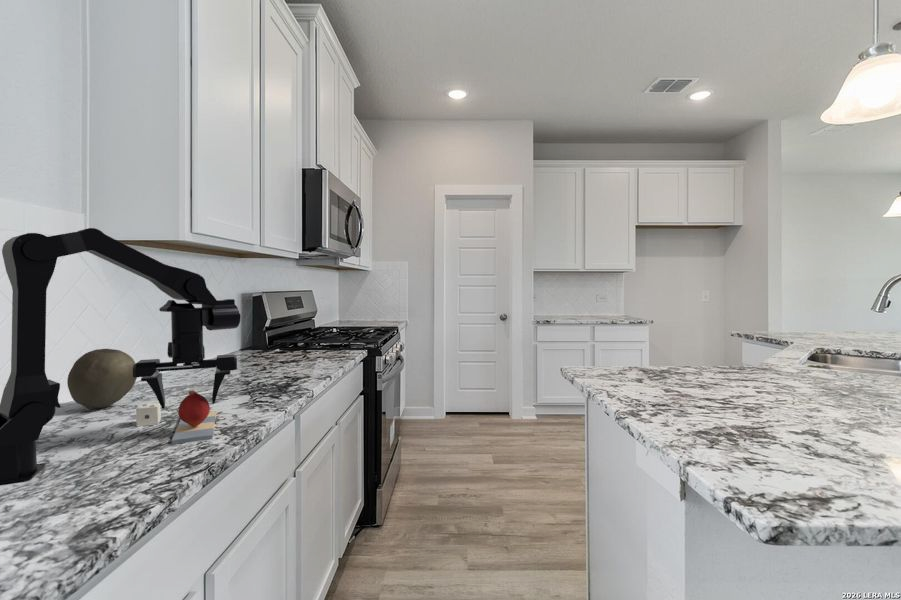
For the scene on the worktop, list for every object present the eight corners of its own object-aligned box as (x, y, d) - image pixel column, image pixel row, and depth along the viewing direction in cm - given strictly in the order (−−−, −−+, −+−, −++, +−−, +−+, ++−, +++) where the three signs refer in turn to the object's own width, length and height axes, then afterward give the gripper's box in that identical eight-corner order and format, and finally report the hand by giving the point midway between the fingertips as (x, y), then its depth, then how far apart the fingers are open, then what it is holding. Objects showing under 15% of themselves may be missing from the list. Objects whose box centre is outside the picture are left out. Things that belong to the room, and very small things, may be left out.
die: (157, 424, 102) (157, 406, 102) (136, 426, 100) (136, 408, 100) (160, 419, 106) (160, 402, 106) (140, 422, 104) (139, 404, 104)
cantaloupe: (82, 417, 108) (80, 354, 107) (60, 409, 115) (57, 350, 115) (147, 404, 119) (146, 347, 119) (123, 397, 127) (121, 344, 127)
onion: (203, 420, 101) (201, 385, 100) (215, 425, 97) (213, 388, 97) (175, 428, 96) (172, 391, 96) (186, 433, 93) (183, 395, 92)
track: (212, 438, 92) (212, 434, 92) (171, 444, 89) (171, 440, 89) (216, 413, 110) (216, 410, 110) (182, 417, 107) (182, 414, 107)
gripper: (236, 327, 107) (237, 393, 107) (142, 331, 99) (144, 402, 100) (236, 331, 97) (237, 404, 97) (131, 336, 89) (133, 414, 89)
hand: (189, 405), depth 96 cm, fingers open, 9 cm apart
